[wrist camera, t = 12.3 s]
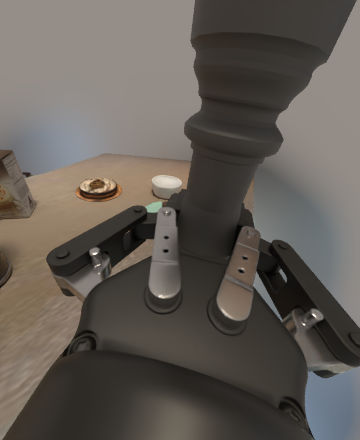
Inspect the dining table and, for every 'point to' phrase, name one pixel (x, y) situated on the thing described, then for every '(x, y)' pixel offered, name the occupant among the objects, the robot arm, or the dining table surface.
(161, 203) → the pot lid
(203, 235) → the candle holder
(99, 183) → the cream topped cake
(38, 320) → the dining table surface
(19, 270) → the dining table surface
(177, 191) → the ramekin
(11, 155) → the coffee box
